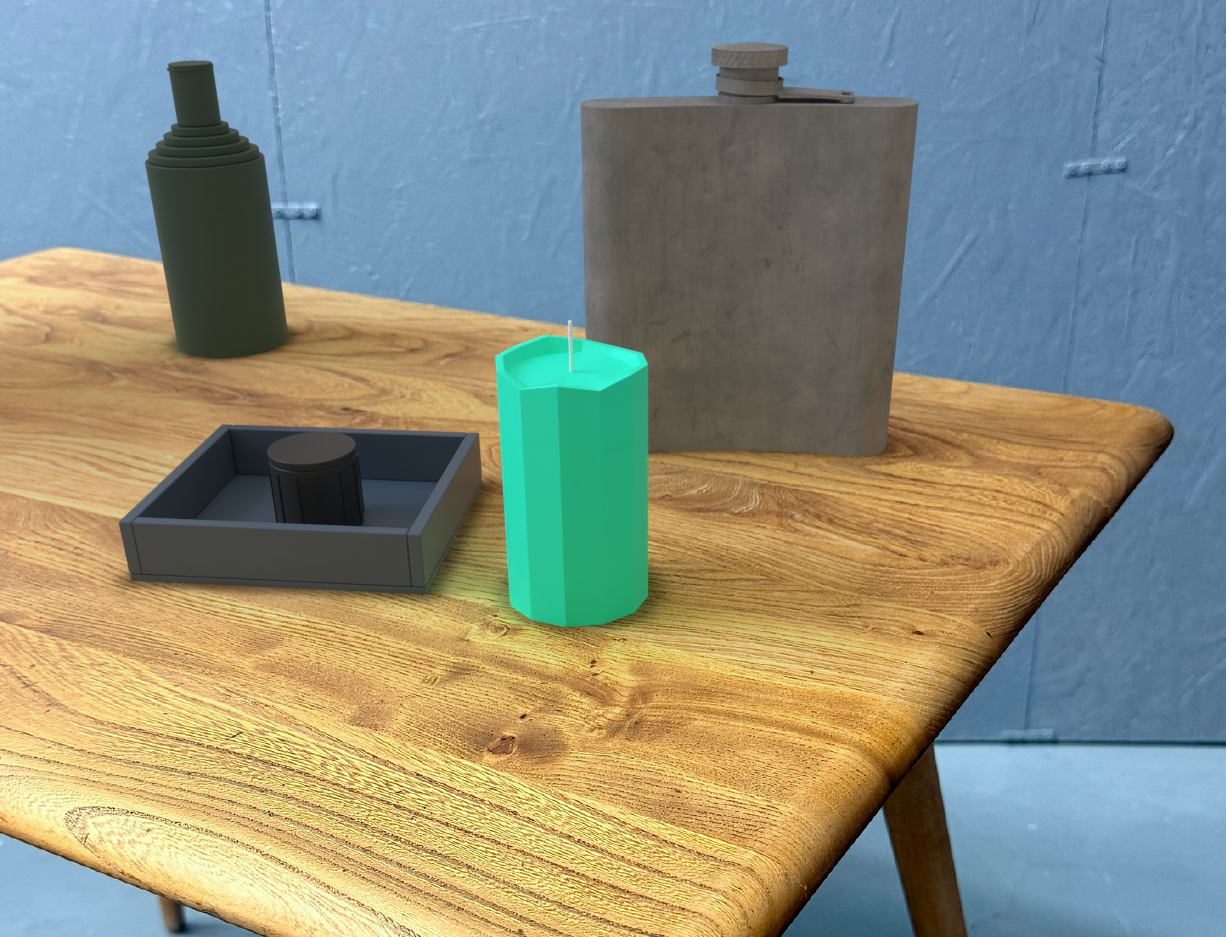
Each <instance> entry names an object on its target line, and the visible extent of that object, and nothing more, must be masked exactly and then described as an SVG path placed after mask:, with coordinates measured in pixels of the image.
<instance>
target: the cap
mask: <svg viewBox="0 0 1226 937" xmlns="http://www.w3.org/2000/svg"><path fill="white" fill-rule="evenodd" d="M267 455H268V460H269V466H268V471H269V477H270V484H271V491H272V497H273V504H274V510H275V517H276V523H289V524H313V525H337V526H362V524H363V522H364V512H365V510H364V501H363V492H362V483H361V475H360V466H359V457H358V455H357V450H356V443H355V441H354V440H353V439H352V438H351V437H349V436H347V435H344V434H340V433H334V432H307V433H301V434H296V435H291V436H288V437H285V438H282V439H280V440H278V441H276V442H274V443H273V444H272V445H271V446H270V447H269V448H268V451H267Z"/></svg>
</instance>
